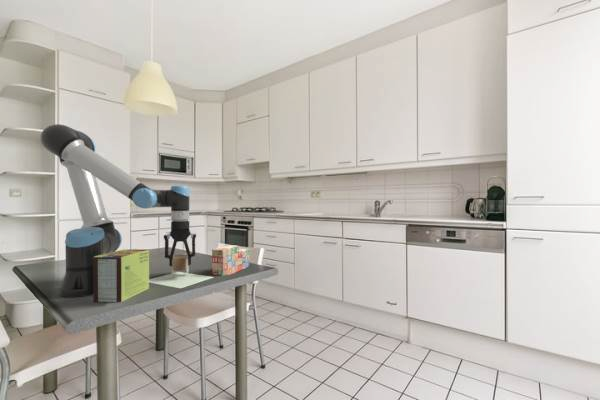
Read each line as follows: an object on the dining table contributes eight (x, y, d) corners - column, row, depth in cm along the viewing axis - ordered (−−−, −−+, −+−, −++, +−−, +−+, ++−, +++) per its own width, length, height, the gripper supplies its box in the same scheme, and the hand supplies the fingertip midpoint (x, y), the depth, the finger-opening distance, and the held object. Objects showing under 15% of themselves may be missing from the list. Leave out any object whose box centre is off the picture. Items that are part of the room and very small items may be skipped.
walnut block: (185, 270, 124) (187, 264, 136) (185, 258, 124) (187, 253, 136) (172, 270, 123) (175, 265, 134) (172, 258, 123) (175, 254, 134)
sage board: (142, 282, 122) (142, 281, 122) (178, 273, 138) (178, 271, 138) (180, 289, 112) (180, 288, 112) (214, 278, 128) (214, 277, 128)
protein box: (149, 289, 112) (149, 249, 112) (121, 303, 97) (121, 256, 97) (124, 289, 113) (124, 248, 113) (92, 302, 98) (92, 256, 98)
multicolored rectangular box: (239, 266, 152) (239, 242, 152) (249, 267, 150) (249, 243, 150) (211, 276, 133) (211, 248, 133) (223, 277, 130) (223, 249, 130)
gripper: (156, 221, 124) (156, 276, 124) (201, 220, 129) (201, 273, 129) (159, 220, 131) (159, 272, 131) (201, 219, 136) (201, 269, 136)
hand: (180, 272), depth 130 cm, fingers closed on walnut block, 5 cm apart
